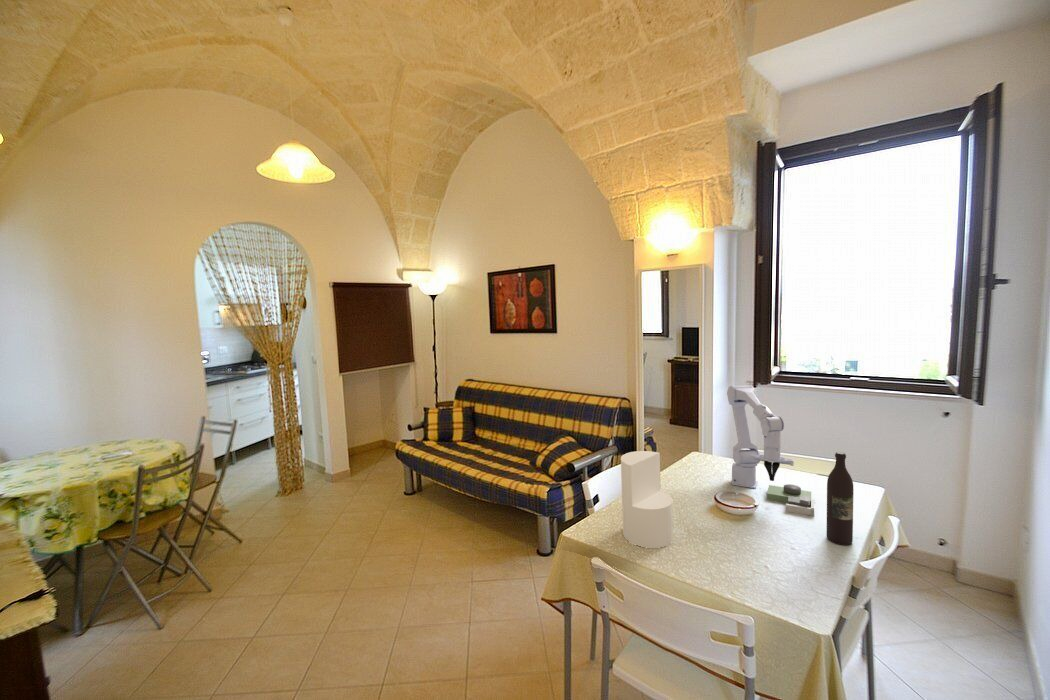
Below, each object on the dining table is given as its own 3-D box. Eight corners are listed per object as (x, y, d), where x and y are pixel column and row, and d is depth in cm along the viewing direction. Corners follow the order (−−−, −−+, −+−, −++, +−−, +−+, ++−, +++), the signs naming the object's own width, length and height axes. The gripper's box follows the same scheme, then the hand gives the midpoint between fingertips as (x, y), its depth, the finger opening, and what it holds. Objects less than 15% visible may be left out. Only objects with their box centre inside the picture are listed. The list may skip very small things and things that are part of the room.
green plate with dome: (765, 507, 169) (765, 496, 168) (769, 490, 183) (769, 480, 183) (814, 516, 160) (814, 504, 159) (814, 498, 174) (814, 487, 174)
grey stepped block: (787, 509, 166) (787, 497, 166) (788, 504, 171) (788, 492, 170) (809, 513, 163) (809, 501, 162) (809, 508, 167) (809, 496, 166)
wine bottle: (828, 543, 142) (829, 455, 139) (824, 533, 148) (825, 448, 145) (854, 547, 139) (856, 457, 136) (850, 537, 145) (851, 450, 142)
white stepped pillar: (613, 535, 154) (610, 459, 151) (641, 518, 165) (639, 447, 162) (655, 554, 140) (653, 472, 138) (683, 535, 151) (681, 458, 149)
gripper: (750, 447, 170) (750, 480, 171) (793, 452, 162) (792, 487, 163) (752, 442, 176) (752, 474, 177) (793, 447, 168) (793, 480, 169)
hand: (771, 479), depth 171 cm, fingers closed
